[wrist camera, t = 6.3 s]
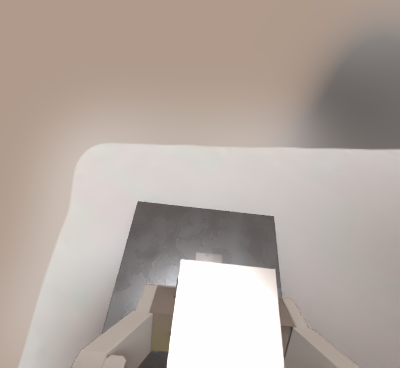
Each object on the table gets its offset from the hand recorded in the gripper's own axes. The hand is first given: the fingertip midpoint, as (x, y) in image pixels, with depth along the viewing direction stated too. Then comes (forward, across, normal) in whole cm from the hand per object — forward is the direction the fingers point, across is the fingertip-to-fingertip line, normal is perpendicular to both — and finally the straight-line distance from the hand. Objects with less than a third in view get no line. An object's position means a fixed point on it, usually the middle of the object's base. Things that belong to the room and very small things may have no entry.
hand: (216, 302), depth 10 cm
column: (+8, 0, +9) cm, 12 cm away
